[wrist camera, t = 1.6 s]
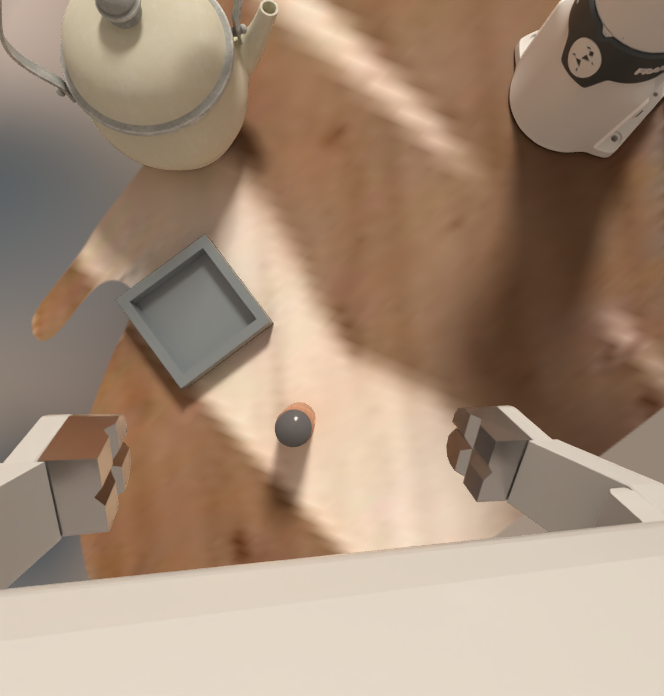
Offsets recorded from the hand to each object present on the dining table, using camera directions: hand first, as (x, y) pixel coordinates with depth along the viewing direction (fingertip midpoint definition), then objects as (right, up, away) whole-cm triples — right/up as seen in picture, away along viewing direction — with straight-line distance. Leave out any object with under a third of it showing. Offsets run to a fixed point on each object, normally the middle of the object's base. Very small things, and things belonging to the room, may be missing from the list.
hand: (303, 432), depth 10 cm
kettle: (-17, +32, +41) cm, 55 cm away
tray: (-16, +6, +40) cm, 43 cm away
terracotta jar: (-3, -7, +39) cm, 40 cm away
